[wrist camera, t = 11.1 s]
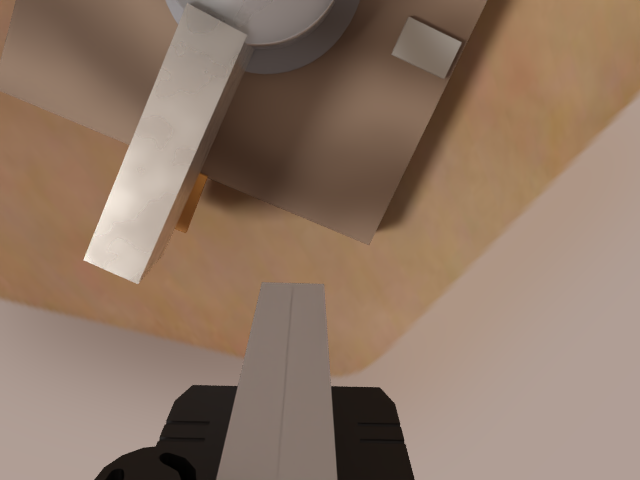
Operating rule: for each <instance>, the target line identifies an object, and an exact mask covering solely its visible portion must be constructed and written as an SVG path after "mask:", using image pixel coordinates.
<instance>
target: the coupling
mask: <svg viewBox="0 0 640 480" xmlns="http://www.w3.org/2000/svg"><path fill="white" fill-rule="evenodd" d="M177 2H178V3H179V4H180V5H181V7H182V8H183V9H184V12H183V14H182V17H181V19H180V22H179V24H178V27H177V29H176V32H175V34H174V37H173V39H172V41H171V44H170V46H169V49H168V51H167V54H166V56H165V59H164V61H163V64H162V66H161V69H160V71H159V74H158V76H157V79H156V81H155V84H154V86H153V89H152V91H151V94H150V96H149V99H148V101H147V104H146V106H145V109H144V111H143V113H142V116H141V118H140V121H139V123H138V126H137V128H136V131H135V133H134V136H133V138H132V141H131V143H130V146H129V148H128V151H127V153H126V156H125V158H124V161H123V163H122V166H121V168H120V171H119V173H118V176H117V178H116V181H115V183H114V185H113V188H112V190H111V193H110V195H109V198H108V200H107V203H106V205H105V208H104V210H103V213H102V215H101V218H100V220H99V223H98V225H97V228H96V230H95V233H94V235H93V238H92V240H91V243H90V245H89V248H88V250H87V253H86V255H85V257H84V261H87V262H89V263H91V264H93V265H96V266H98V267H100V268H103V269H105V270H107V271H109V272H112V273H114V274H116V275H118V276H121V277H123V278H125V279H128V280H130V281H132V282H134V283H137V284H139V282H140V281H141V280H142V279H143V278H144V277H145V275H146V274H147V273H148V272H149V271H150V270H151V268H152V267H153V266H154V265H155V264H156V262H157V261H158V260H159V259H160V258H161V257H162V255H163V254H164V252H165V249H166V247H167V245H168V243H169V240H170V238H171V236H172V234H173V231H174V229H175V227H176V225H177V222H178V220H179V218H180V216H181V213H182V211H183V209H184V207H185V204H186V202H187V200H188V198H189V195H190V193H191V191H192V189H193V186H194V184H195V182H196V180H197V177H198V175H199V173H200V171H201V168H202V166H203V164H204V162H205V159H206V157H207V155H208V153H209V150H210V148H211V146H212V144H213V141H214V139H215V137H216V135H217V132H218V130H219V128H220V126H221V123H222V121H223V119H224V117H225V114H226V112H227V110H228V108H229V105H230V103H231V101H232V99H233V96H234V94H235V92H236V90H237V87H238V85H239V83H240V81H241V78H242V76H243V74H244V72H245V69H246V67H247V65H248V63H249V60H250V58H251V56H252V54H253V51H254V49H257V50H270V49H278V48H282V47H286V46H289V45H291V44H294V43H296V42H298V41H300V40H301V39H303V38H305V37H306V36H308V35H309V34H310V33H311V32H313V31H314V30H315V29H316V28H317V27H318V26H319V25H320V24H321V23H322V22H323V20H324V19H325V18H326V16H327V15H328V14H329V12H330V10H331V8H332V7H333V5H334V3H335V0H177Z"/></svg>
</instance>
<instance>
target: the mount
mask: <svg viewBox="0 0 640 480" xmlns="http://www.w3.org/2000/svg"><path fill="white" fill-rule="evenodd" d="M486 2H487V0H335V3H334V5H333V7H332V8H331V10H330V12H329V14H328V15H327V16H326V18H325V19H324V20H323V22H322V23H321V24H320V25H319V26H318V27H317V28H316V29H315V30H314V31H313V32H311V33H310V34H309V35H308V36H306V37H305V38H303V39H301V40H300V41H298V42H296V43H294V44H291V45H289V46H286V47H282V48H278V49H270V50H257V49H254V51H253V54H252V56H251V58H250V60H249V63H248V65H247V67H246V69H245V72H244V74H243V76H242V78H241V81H240V83H239V85H238V87H237V90H236V92H235V94H234V96H233V99H232V101H231V103H230V105H229V108H228V110H227V112H226V114H225V117H224V119H223V121H222V123H221V126H220V128H219V130H218V132H217V135H216V137H215V139H214V141H213V144H212V146H211V148H210V150H209V153H208V155H207V157H206V159H205V162H204V164H203V166H202V168H201V171H200V173H199V175H198V177H197V180H196V182H195V184H194V186H193V189H192V191H191V193H190V195H189V198H188V200H187V202H186V204H185V207H184V209H183V211H182V213H181V216H180V218H179V220H178V222H177V225H176V227H175V229H176V230H179V231H181V232H184V233H186V232H187V230H188V227H189V225H190V222H191V219H192V217H193V214H194V212H195V209H196V206H197V204H198V201H199V198H200V196H201V193H202V191H203V188H204V185H205V183H206V180H207V178H209V179H212V180H214V181H216V182H219V183H221V184H224V185H226V186H228V187H231V188H233V189H236V190H238V191H240V192H243V193H245V194H248V195H250V196H252V197H255V198H257V199H260V200H262V201H264V202H267V203H269V204H272V205H274V206H276V207H279V208H281V209H283V210H286V211H288V212H291V213H293V214H295V215H298V216H300V217H303V218H305V219H307V220H310V221H312V222H315V223H317V224H319V225H322V226H324V227H327V228H329V229H331V230H334V231H336V232H338V233H341V234H343V235H346V236H348V237H350V238H353V239H355V240H358V241H360V242H362V243H365V244H367V245H369V244H370V242H371V240H372V238H373V236H374V234H375V232H376V230H377V228H378V226H379V224H380V222H381V220H382V218H383V215H384V213H385V211H386V209H387V207H388V205H389V203H390V201H391V199H392V197H393V195H394V193H395V191H396V189H397V186H398V184H399V182H400V180H401V178H402V176H403V174H404V172H405V170H406V168H407V166H408V164H409V162H410V160H411V158H412V155H413V153H414V151H415V149H416V147H417V145H418V143H419V141H420V139H421V137H422V135H423V133H424V131H425V129H426V126H427V124H428V122H429V120H430V118H431V116H432V114H433V112H434V110H435V108H436V106H437V104H438V102H439V100H440V97H441V95H442V93H443V91H444V89H445V87H446V85H447V83H448V81H449V79H450V77H451V75H452V73H453V71H454V69H455V66H456V64H457V62H458V60H459V58H460V56H461V54H462V52H463V50H464V48H465V46H466V44H467V42H468V40H469V37H470V35H471V33H472V31H473V29H474V27H475V25H476V23H477V21H478V19H479V17H480V15H481V13H482V11H483V9H484V6H485V4H486ZM183 12H184V9H183V8H182V7H181V5H180V4H179V3H178V2H177V0H16V2H15V6H14V10H13V14H12V18H11V22H10V26H9V30H8V33H7V37H6V41H5V45H4V49H3V53H2V57H1V61H0V91H1V92H4V93H6V94H8V95H11V96H13V97H16V98H18V99H20V100H23V101H25V102H28V103H30V104H32V105H35V106H37V107H39V108H42V109H44V110H47V111H49V112H51V113H54V114H56V115H59V116H61V117H63V118H66V119H68V120H71V121H73V122H75V123H78V124H80V125H83V126H85V127H87V128H90V129H92V130H94V131H97V132H99V133H102V134H104V135H106V136H109V137H111V138H114V139H116V140H118V141H121V142H123V143H126V144H128V145H130V143H131V141H132V138H133V136H134V133H135V131H136V128H137V126H138V123H139V121H140V118H141V116H142V113H143V111H144V109H145V106H146V104H147V101H148V99H149V96H150V94H151V91H152V89H153V86H154V84H155V81H156V79H157V76H158V74H159V71H160V69H161V66H162V64H163V61H164V59H165V56H166V54H167V51H168V49H169V46H170V44H171V41H172V39H173V37H174V34H175V32H176V29H177V27H178V24H179V22H180V19H181V17H182V14H183Z"/></svg>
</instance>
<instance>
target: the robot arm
mask: <svg viewBox="0 0 640 480" xmlns="http://www.w3.org/2000/svg"><path fill="white" fill-rule="evenodd" d="M95 480H414V475H413V472H412V468H411V464H410V460H409V456H408V452H407V448H406V445H405V444H404V437H403V433H402V429H401V427H400V422H399V418H398V414H397V410H396V406H395V404H394V402H393V401H392V400H391V399H390V398H389V397H388V396H387V395H386V394H385V393H384V392H383V391H382V389H381V388H379V387H337V386H334V387H333V386H331V379H330V364H329V350H328V335H327V320H326V305H325V291H324V284H304V283H268V282H262V284H261V289H260V293H259V297H258V302H257V306H256V310H255V315H254V319H253V323H252V328H251V332H250V336H249V340H248V345H247V349H246V353H245V358H244V362H243V366H242V371H241V375H240V379H239V383H238V386H208V385H193V386H191V387H190V388H189V389H188V390H187V391H186V392H184V393H183V394H182V395H181V396H180V397H179V398H178V399H177V400H175V402H174V404H173V406H172V409H171V411H170V414H169V416H168V418H167V422H166V425H165V426H164V428H163V430H162V433H161V435H160V440H159V441H158V442H157V445H156V447H147V448H142V449H139V450H136V451H133V452H130V453H128V454H125V455H122V456H121V457H119V458H118V459H116V460H115V461H113V462H112V463H110V464H109V465H107V466H106V467H104V468H103V470H102V471H101V472H100V473H99V475H98V476H97V477H96V478H95Z"/></svg>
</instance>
